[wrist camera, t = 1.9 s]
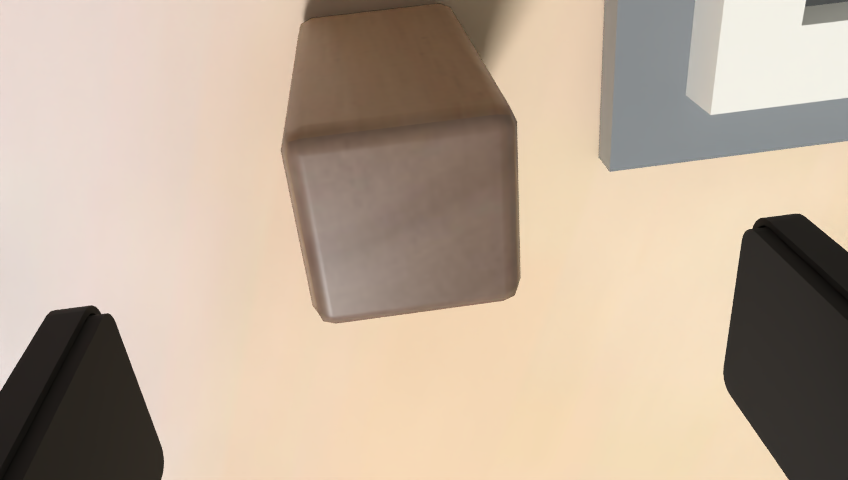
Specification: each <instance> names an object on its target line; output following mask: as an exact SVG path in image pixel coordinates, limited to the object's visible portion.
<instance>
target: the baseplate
mask: <svg viewBox="0 0 848 480" xmlns="http://www.w3.org/2000/svg"><path fill="white" fill-rule="evenodd" d="M843 141H848V0H605V3H604V29H603V56H602V82H601V108H600V134H599V158H600V160H601V161H602V162H603V164H604V165H605V166H606V167H607V169H608V170H609V171H610V172H611V171H618V170H626V169H634V168H642V167H649V166H657V165H665V164H673V163H680V162H688V161H696V160H703V159H711V158H719V157H727V156H734V155H742V154H750V153H758V152H765V151H773V150H781V149H788V148H796V147H804V146H812V145H819V144H827V143H835V142H843Z"/></svg>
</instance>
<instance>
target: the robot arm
mask: <svg viewBox="0 0 848 480" xmlns="http://www.w3.org/2000/svg"><path fill="white" fill-rule="evenodd" d="M723 374H724V381H725V385H726V388H727V390H728V392H729V394H730V395H731V397H732V398H733V400H734V401H735V403H736V404H737V406H738V407H739V408H740V410H741V411H742V413H743V414H744V416H745V417H746V419H747V420H748V421H749V423H750V424H751V426H752V427H753V429H754V430H755V431H756V433H757V434H758V436H759V437H760V439H761V440H762V442H763V443H764V444H765V446H766V447H767V449H768V450H769V452H770V453H771V455H772V456H773V457H774V459H775V460H776V462H777V463H778V465H779V466H780V467H781V469H782V470H783V472H784V473H785V475H786V476H787V478H788V479H789V480H848V252H847V251H846V250H845V249H844V248H842V247H841V246H840V245H839V244H838V243H836V242H835V241H834V240H833V239H831V238H830V237H829V236H828V235H827V234H825V233H824V232H823V231H822V230H821V229H819V228H818V227H817V226H816V225H814V224H813V223H812V222H811V221H810V220H808V219H807V218H806V217H805V216H803V215H801V214H790V215H782V216H774V217H767V218H760V219H758V220H757V221H756V222H755V224H754V226H753V229H749V230H747V231H745V233H744V235H743V238H742V244H741V251H740V258H739V265H738V271H737V278H736V285H735V292H734V299H733V306H732V313H731V320H730V327H729V334H728V341H727V348H726V355H725V362H724V371H723ZM163 468H164V457H163V450H162V447H161V444H160V441H159V439H158V436H157V433H156V430H155V428H154V425H153V422H152V420H151V417H150V414H149V412H148V409H147V406H146V403H145V401H144V398H143V395H142V393H141V390H140V387H139V385H138V382H137V379H136V376H135V374H134V371H133V368H132V366H131V363H130V360H129V358H128V355H127V352H126V349H125V347H124V344H123V341H122V339H121V336H120V333H119V330H118V328H117V325H116V322H115V320H114V318H113V317H112V316H111V315H110V314H108V313H107V314H101V313H100V311H99V310H98V309H97V308H96V307H95V306H84V307H76V308H69V309H61V310H54V311H51V312H50V313H49V314H48V315H47V316H46V318H45V319H44V321H43V322H42V324H41V326H40V327H39V329H38V331H37V332H36V334H35V336H34V337H33V339H32V340H31V342H30V344H29V345H28V347H27V349H26V350H25V352H24V354H23V355H22V357H21V358H20V360H19V362H18V363H17V365H16V367H15V368H14V370H13V372H12V373H11V375H10V376H9V378H8V380H7V381H6V383H5V385H4V386H3V388H2V390H1V391H0V480H161V478H162V474H163Z"/></svg>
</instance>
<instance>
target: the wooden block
mask: <svg viewBox="0 0 848 480" xmlns="http://www.w3.org/2000/svg"><path fill="white" fill-rule="evenodd" d="M281 153H282V158H283V163H284V168H285V173H286V178H287V183H288V188H289V192H290V197H291V202H292V207H293V212H294V217H295V222H296V227H297V231H298V236H299V241H300V246H301V251H302V256H303V261H304V266H305V270H306V275H307V280H308V285H309V290H310V295H311V300H312V305H313V307H314V308H315V309H316V311H317V312H318V313H319V315H320V317H321V318H322V320H323V321H325V322H331V323H343V322H350V321H357V320H365V319H372V318H380V317H387V316H394V315H402V314H409V313H416V312H424V311H431V310H438V309H446V308H453V307H461V306H468V305H475V304H483V303H490V302H497V301H504V300H506V299H508V298H510V297H512V296H514V295H515V293H516V290H517V287H518V284H519V280H520V237H519V193H518V150H517V121H516V119H515V116H514V114H513V112H512V110H511V108H510V106H509V105H508V103H507V101H506V100H505V98H504V96H503V95H502V93H501V91H500V90H499V88H498V86H497V85H496V83H495V81H494V80H493V78H492V76H491V74H490V73H489V71H488V69H487V68H486V66H485V64H484V63H483V61H482V59H481V58H480V56H479V54H478V53H477V51H476V49H475V48H474V46H473V44H472V43H471V41H470V39H469V38H468V36H467V34H466V33H465V31H464V29H463V28H462V26H461V24H460V23H459V21H458V19H457V18H456V16H455V14H454V13H453V11H452V9H451V8H450V7H448V6H445V5H442V4H431V5H422V6H413V7H405V8H396V9H387V10H379V11H370V12H361V13H353V14H344V15H335V16H327V17H318V18H311V19H309V20H308V21H306V22H304V23H302V24H301V26H300V31H299V35H298V41H297V48H296V54H295V61H294V68H293V74H292V81H291V87H290V94H289V101H288V107H287V114H286V120H285V127H284V134H283V140H282V147H281Z"/></svg>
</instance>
